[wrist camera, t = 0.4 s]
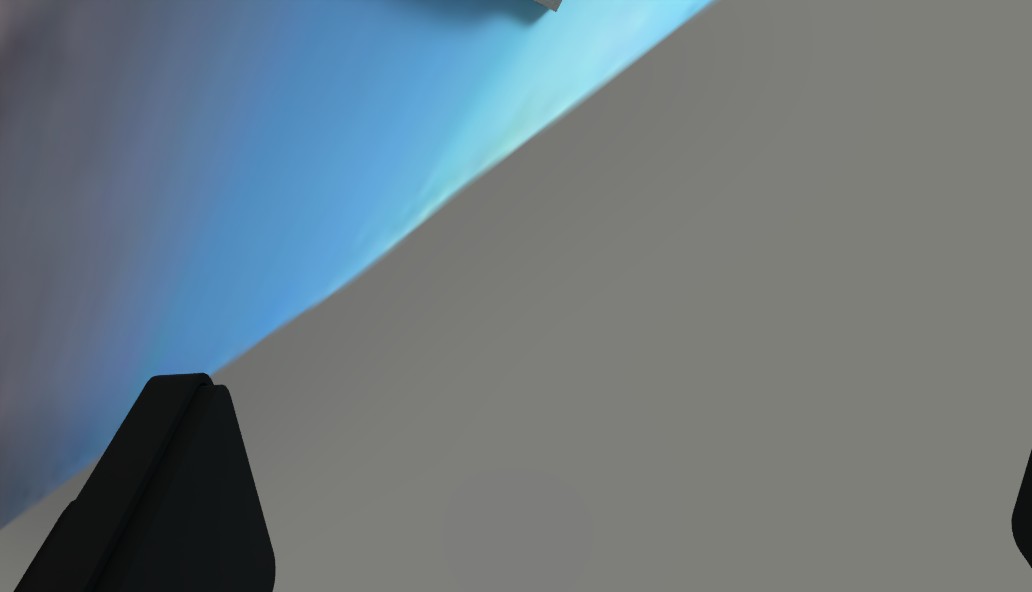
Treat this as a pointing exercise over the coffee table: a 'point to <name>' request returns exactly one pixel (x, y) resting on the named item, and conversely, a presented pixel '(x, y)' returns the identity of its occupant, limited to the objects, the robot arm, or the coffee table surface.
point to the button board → (550, 4)
